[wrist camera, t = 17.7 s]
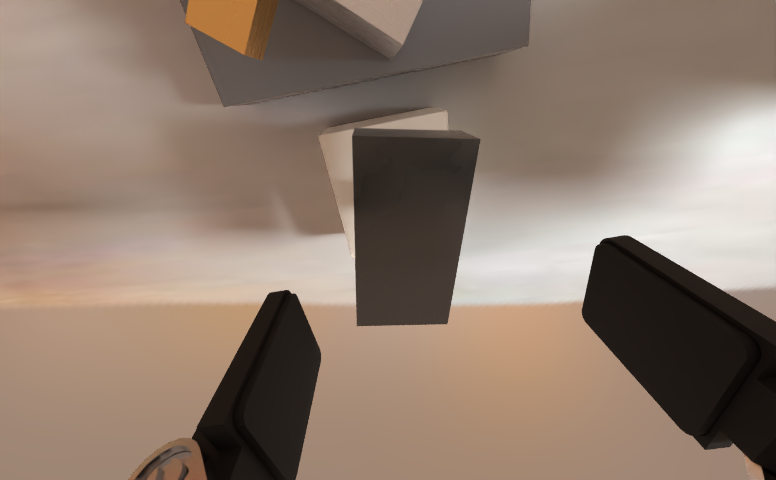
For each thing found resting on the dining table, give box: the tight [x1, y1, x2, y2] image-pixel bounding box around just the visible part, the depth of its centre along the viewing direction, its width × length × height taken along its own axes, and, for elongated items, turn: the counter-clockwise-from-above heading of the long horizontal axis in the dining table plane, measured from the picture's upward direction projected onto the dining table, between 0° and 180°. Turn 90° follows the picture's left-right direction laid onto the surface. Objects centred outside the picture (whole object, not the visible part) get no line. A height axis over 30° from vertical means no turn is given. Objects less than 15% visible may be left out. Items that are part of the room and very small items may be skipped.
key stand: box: [318, 107, 448, 258], centre depth 21 cm, size 8×9×4 cm
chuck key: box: [352, 128, 480, 326], centre depth 17 cm, size 5×9×11 cm, turn 178°
